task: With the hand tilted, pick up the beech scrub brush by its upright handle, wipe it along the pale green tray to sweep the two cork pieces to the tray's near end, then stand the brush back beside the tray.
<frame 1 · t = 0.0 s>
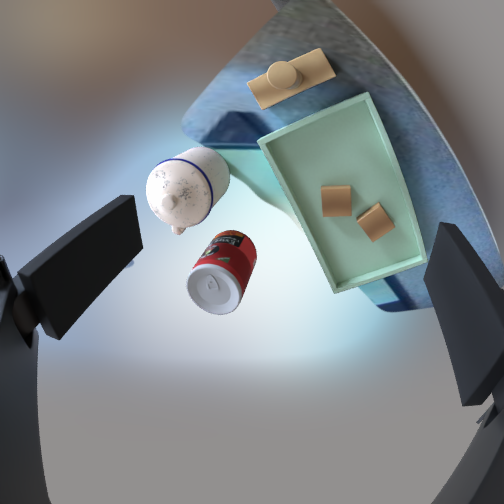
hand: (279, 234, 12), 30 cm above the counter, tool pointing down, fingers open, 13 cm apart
teacup with lid: (201, 183, 45), on the counter
tray: (351, 198, 41), on the counter
brush: (293, 79, 35), on the counter
cork piece a: (375, 220, 41), point 1 cm above the counter, touching tray
cork piece b: (336, 199, 41), point 1 cm above the counter, touching tray
canned food: (234, 250, 50), on the counter
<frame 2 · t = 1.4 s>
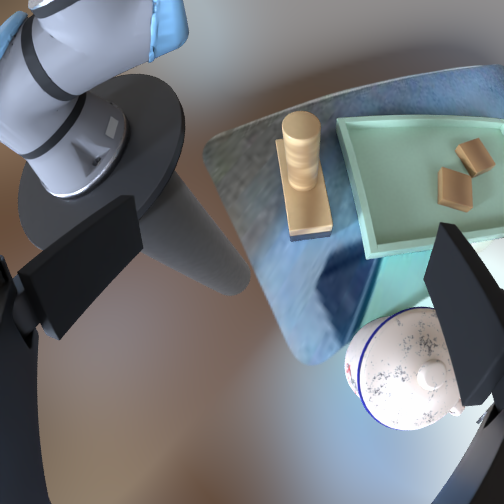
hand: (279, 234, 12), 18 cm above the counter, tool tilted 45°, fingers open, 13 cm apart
teacup with lid: (396, 368, 26), on the counter
tray: (451, 179, 30), on the counter
brush: (303, 193, 32), on the counter
cork piece a: (473, 160, 29), point 1 cm above the counter, touching tray
cork piece b: (452, 192, 28), point 1 cm above the counter, touching tray
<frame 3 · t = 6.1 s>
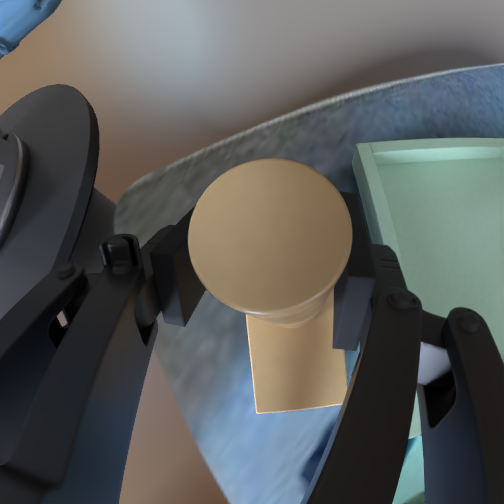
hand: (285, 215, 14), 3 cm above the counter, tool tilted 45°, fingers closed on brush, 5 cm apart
brush: (293, 303, 16), on the counter, touching gripper
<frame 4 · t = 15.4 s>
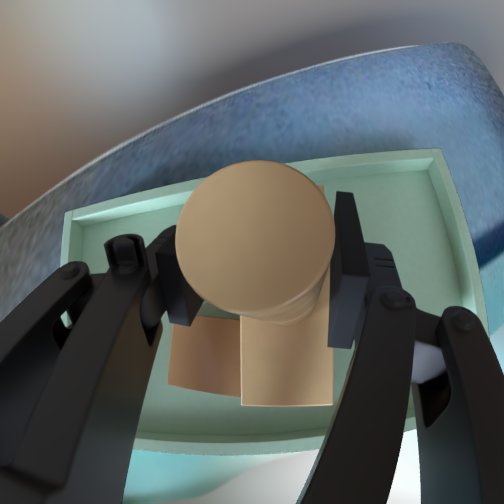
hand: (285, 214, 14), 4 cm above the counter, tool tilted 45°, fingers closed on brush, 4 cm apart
tray: (259, 310, 17), on the counter
brush: (289, 300, 16), point 1 cm above the counter, touching cork piece a, gripper
cork piece b: (213, 353, 16), point 1 cm above the counter, touching tray
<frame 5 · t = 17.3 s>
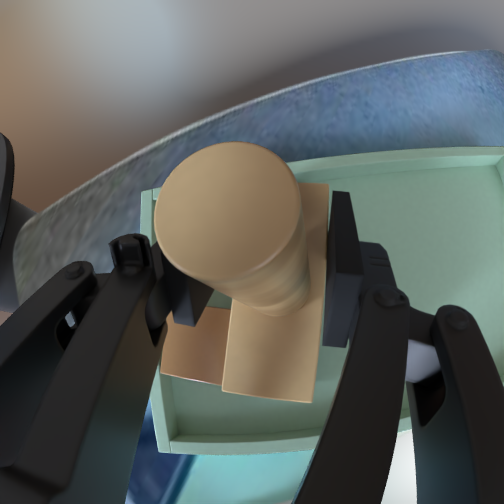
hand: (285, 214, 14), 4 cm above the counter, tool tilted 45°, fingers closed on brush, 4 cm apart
tray: (372, 293, 17), on the counter
brush: (286, 295, 17), point 1 cm above the counter, touching cork piece b, gripper, tray
cork piece b: (207, 343, 17), point 1 cm above the counter, touching brush, tray
when the fingers open (4 cm above the counter, at t = 23.3 s): brush stays where it is, on the counter.
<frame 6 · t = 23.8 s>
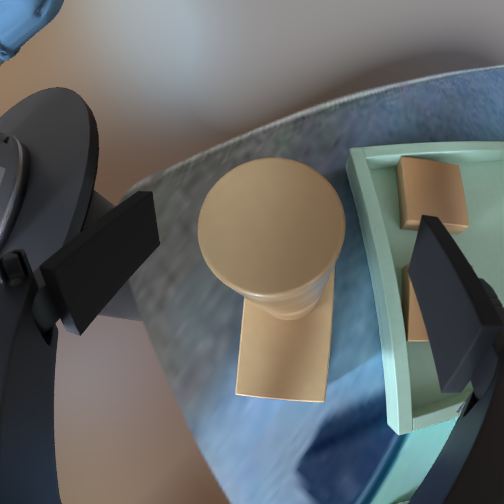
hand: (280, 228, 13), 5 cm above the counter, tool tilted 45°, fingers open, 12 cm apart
brush: (291, 297, 17), on the counter
cork piece a: (427, 200, 16), point 1 cm above the counter, touching tray
cork piece b: (433, 304, 15), point 1 cm above the counter, touching tray
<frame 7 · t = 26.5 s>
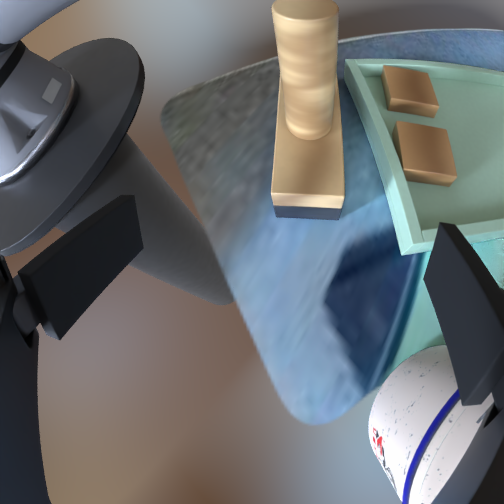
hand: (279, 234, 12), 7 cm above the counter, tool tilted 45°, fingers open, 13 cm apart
teacup with lid: (444, 421, 14), on the counter, touching gripper
tray: (499, 146, 19), on the counter
brush: (309, 153, 21), on the counter
cork piece a: (407, 96, 20), point 1 cm above the counter, touching tray
cork piece b: (420, 159, 18), point 1 cm above the counter, touching tray
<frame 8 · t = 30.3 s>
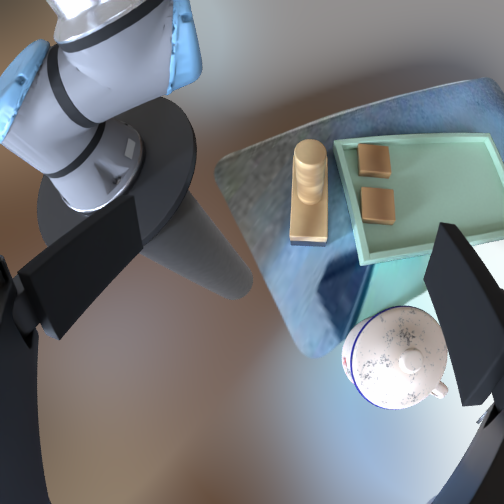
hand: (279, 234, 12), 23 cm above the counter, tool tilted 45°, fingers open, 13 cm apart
teacup with lid: (388, 360, 31), on the counter
tray: (436, 192, 34), on the counter
brush: (309, 205, 37), on the counter
cork piece a: (372, 163, 36), point 1 cm above the counter, touching tray
cork piece b: (375, 208, 34), point 1 cm above the counter, touching tray
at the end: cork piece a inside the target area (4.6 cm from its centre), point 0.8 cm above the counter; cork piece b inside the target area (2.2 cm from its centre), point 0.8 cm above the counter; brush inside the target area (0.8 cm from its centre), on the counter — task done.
